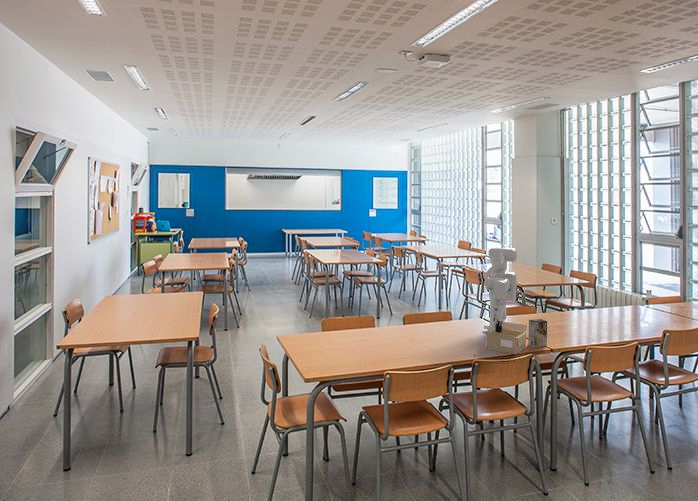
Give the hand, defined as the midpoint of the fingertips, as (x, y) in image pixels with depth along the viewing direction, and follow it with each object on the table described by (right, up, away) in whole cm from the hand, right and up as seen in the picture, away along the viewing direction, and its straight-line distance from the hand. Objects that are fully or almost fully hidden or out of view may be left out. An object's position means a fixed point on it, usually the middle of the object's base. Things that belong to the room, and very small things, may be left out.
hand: (498, 332), depth 293 cm
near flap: (+2, -2, +2) cm, 3 cm away
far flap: (+15, 0, +19) cm, 24 cm away
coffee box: (+30, -12, +18) cm, 37 cm away
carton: (+8, -12, +12) cm, 19 cm away
